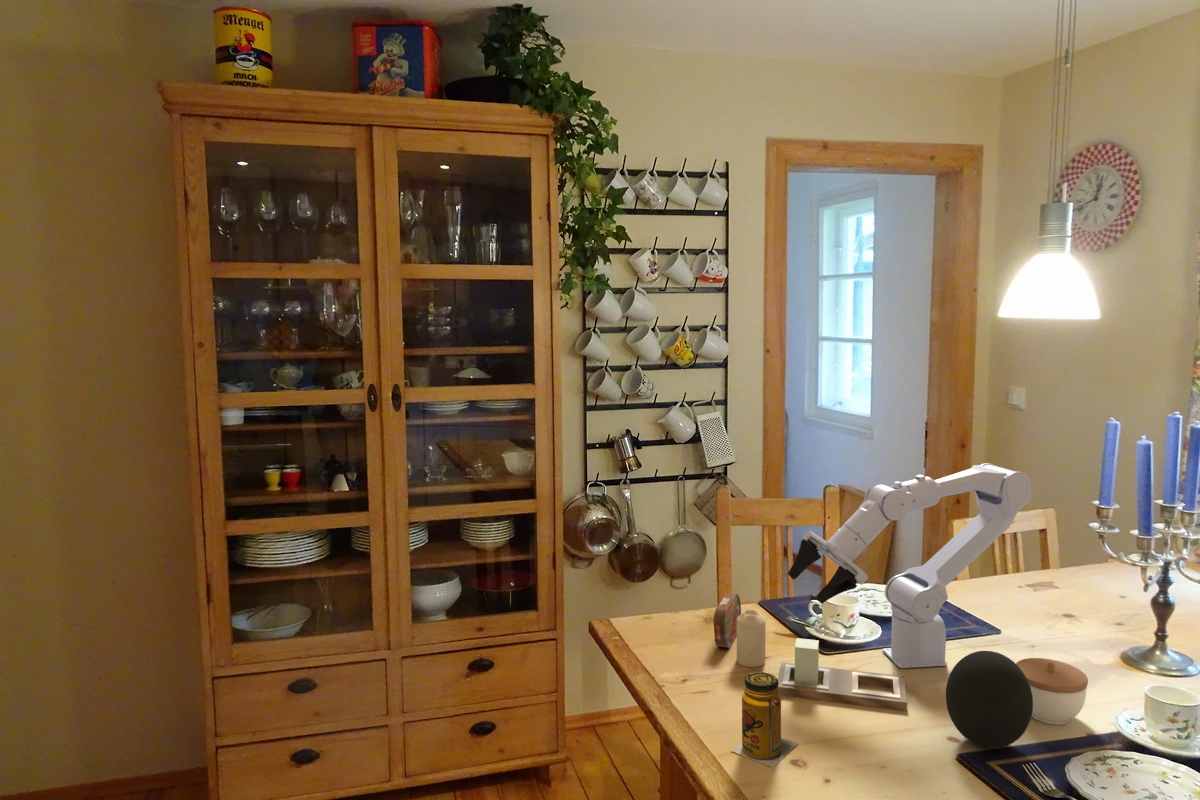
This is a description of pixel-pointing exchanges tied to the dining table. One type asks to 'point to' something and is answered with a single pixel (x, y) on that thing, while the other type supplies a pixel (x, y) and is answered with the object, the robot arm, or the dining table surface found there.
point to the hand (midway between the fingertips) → (804, 588)
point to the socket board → (845, 687)
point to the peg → (806, 661)
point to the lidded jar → (1054, 689)
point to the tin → (726, 620)
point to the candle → (751, 639)
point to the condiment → (762, 720)
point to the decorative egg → (989, 699)
